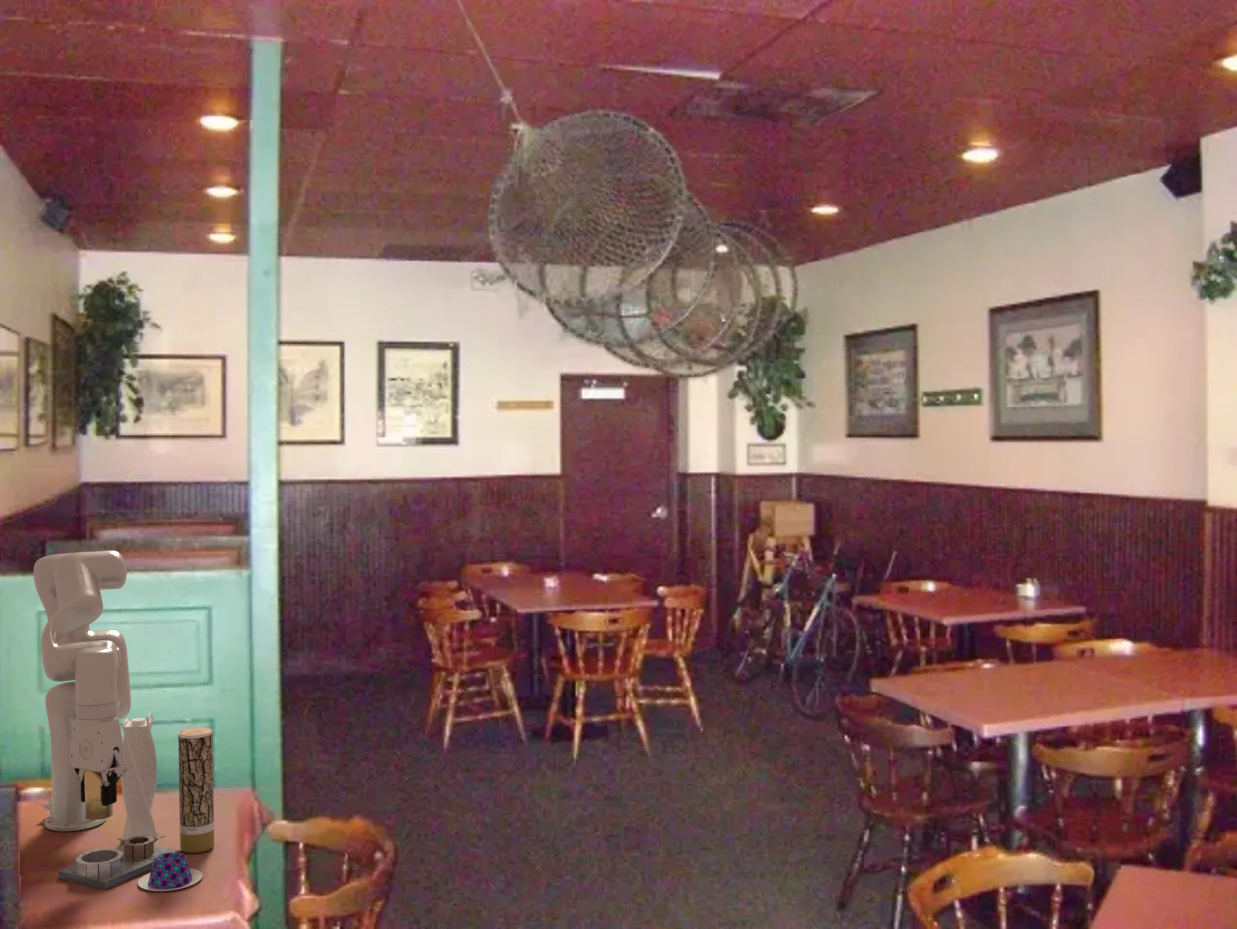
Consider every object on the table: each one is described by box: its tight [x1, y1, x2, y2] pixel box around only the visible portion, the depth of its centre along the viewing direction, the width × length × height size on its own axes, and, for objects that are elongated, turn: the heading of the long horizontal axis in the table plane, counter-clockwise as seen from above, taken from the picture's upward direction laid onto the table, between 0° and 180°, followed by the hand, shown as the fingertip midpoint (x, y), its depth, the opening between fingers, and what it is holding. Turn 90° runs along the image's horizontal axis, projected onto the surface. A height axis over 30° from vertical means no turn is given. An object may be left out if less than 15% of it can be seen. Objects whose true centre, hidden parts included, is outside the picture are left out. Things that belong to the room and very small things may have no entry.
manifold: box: [57, 836, 180, 891], centre depth 257 cm, size 13×19×4 cm
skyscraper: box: [117, 712, 166, 842], centre depth 273 cm, size 8×8×28 cm
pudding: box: [137, 851, 203, 892], centre depth 250 cm, size 12×12×5 cm
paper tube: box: [177, 726, 215, 854], centre depth 267 cm, size 7×7×25 cm
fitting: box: [84, 770, 114, 820], centre depth 251 cm, size 5×5×10 cm
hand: (98, 801), depth 252 cm, fingers closed on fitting, 5 cm apart
